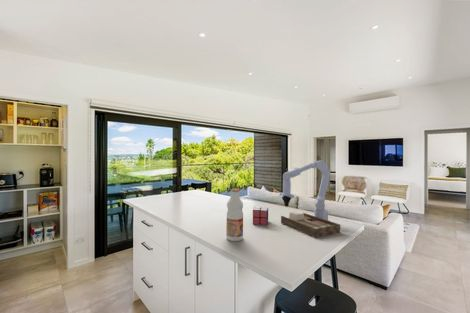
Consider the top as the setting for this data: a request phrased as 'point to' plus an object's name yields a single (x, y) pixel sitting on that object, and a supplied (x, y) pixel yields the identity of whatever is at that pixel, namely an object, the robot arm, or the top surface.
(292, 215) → the cream block
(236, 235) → the fruit juice
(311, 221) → the trap box
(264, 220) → the puzzle cube
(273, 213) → the top surface
